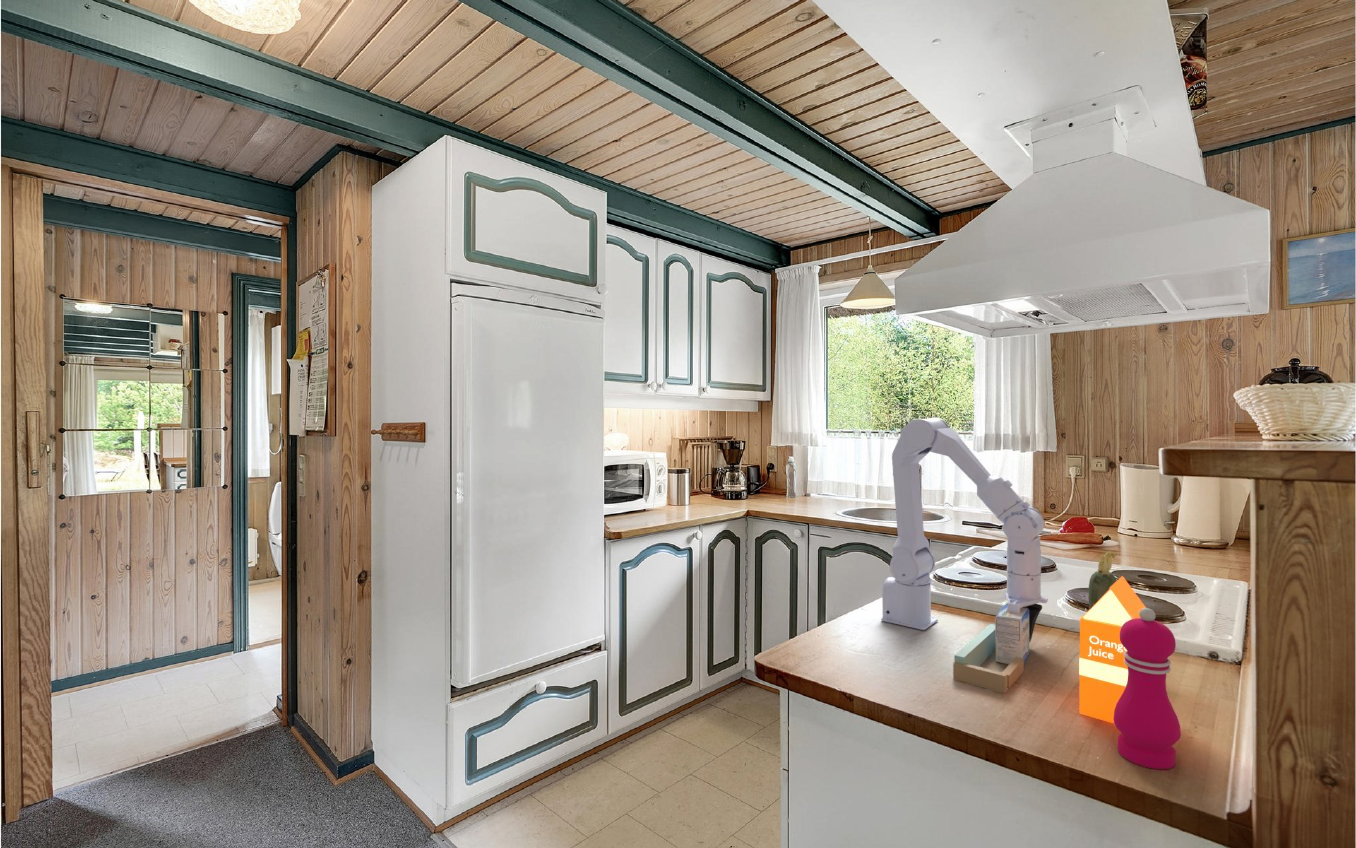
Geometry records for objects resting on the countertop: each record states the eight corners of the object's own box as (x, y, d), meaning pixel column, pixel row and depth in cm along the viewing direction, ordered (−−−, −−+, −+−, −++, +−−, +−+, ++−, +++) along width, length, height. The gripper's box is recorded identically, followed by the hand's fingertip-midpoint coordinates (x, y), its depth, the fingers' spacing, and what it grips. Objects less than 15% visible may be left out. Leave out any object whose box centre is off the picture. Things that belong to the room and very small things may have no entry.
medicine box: (1022, 668, 113) (1022, 620, 113) (994, 662, 116) (994, 615, 116) (1029, 653, 120) (1029, 608, 119) (1003, 648, 122) (1003, 603, 122)
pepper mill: (1192, 775, 81) (1194, 618, 80) (1128, 769, 82) (1130, 616, 82) (1161, 744, 88) (1163, 601, 87) (1103, 740, 89) (1104, 598, 89)
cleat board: (953, 679, 109) (953, 656, 109) (990, 644, 125) (990, 623, 125) (1005, 693, 104) (1005, 669, 104) (1037, 654, 119) (1037, 633, 119)
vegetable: (1089, 660, 116) (1090, 551, 115) (1087, 652, 120) (1087, 546, 119) (1118, 665, 114) (1119, 553, 113) (1115, 656, 118) (1116, 548, 117)
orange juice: (1078, 713, 97) (1079, 582, 96) (1093, 694, 103) (1093, 571, 103) (1140, 731, 91) (1142, 593, 91) (1152, 710, 98) (1154, 580, 97)
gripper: (1037, 584, 114) (1037, 659, 115) (1056, 567, 125) (1055, 636, 125) (995, 577, 119) (995, 649, 119) (1016, 562, 130) (1016, 628, 130)
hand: (1023, 642), depth 123 cm, fingers closed
